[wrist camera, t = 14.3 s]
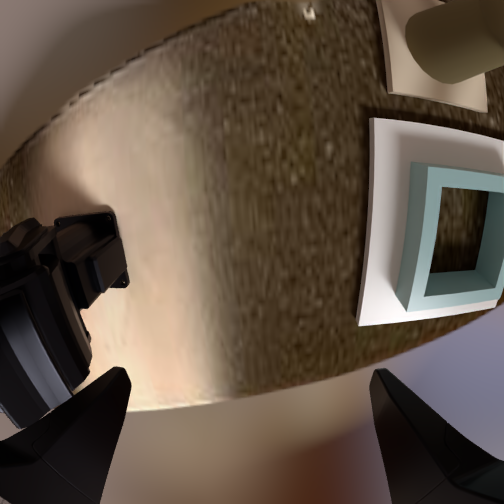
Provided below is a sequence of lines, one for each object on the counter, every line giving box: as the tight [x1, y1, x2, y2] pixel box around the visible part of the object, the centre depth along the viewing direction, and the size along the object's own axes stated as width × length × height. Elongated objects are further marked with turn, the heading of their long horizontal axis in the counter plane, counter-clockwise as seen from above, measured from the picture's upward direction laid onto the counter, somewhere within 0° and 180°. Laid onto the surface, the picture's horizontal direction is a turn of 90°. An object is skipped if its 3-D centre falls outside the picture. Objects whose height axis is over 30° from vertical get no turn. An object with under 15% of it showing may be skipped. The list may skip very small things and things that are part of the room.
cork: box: [405, 0, 504, 84], centre depth 8 cm, size 6×6×11 cm
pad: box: [376, 0, 487, 113], centre depth 14 cm, size 9×9×1 cm
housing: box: [356, 118, 504, 326], centre depth 18 cm, size 16×16×4 cm
